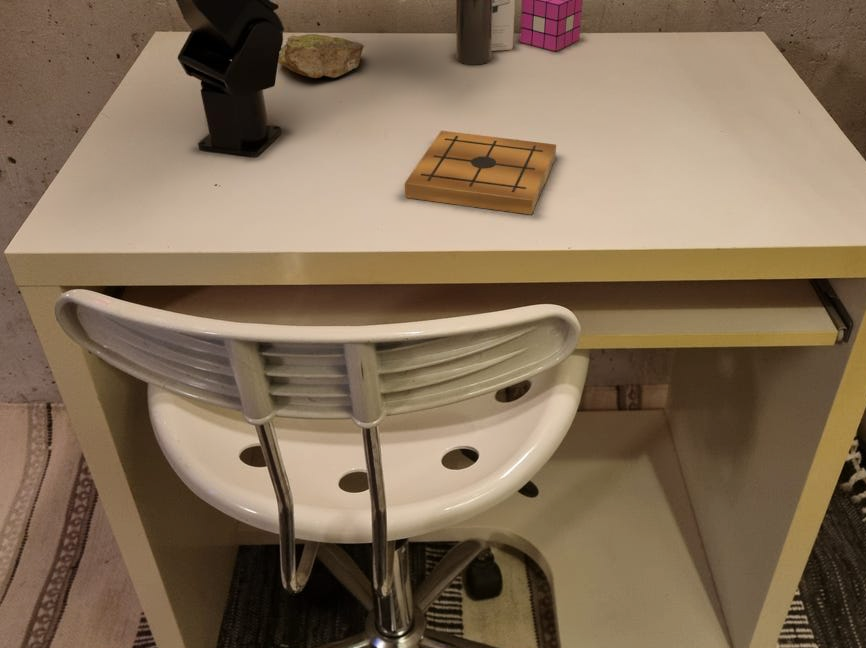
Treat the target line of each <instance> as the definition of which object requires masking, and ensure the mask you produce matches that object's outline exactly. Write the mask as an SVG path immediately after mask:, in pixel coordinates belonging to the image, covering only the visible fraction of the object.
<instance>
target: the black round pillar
mask: <svg viewBox="0 0 866 648" xmlns="http://www.w3.org/2000/svg"><path fill="white" fill-rule="evenodd" d="M492 9H493V0H455V37H456V38H455V39H456V40H455V42H456V43H455V47H456V48H455V49H456V50H455V51H456V56H455V58H456V60H457V61H458V62H459V63H461V64H464V65H470V66H476V65H477V66H478V65H484V64H487V63H489V62H491V61H492V52H493V51H492Z"/></svg>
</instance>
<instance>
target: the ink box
mask: <svg viewBox="0 0 866 648" xmlns="http://www.w3.org/2000/svg"><path fill="white" fill-rule="evenodd" d="M515 11H516V0H493V9H492V52H499V51H509V50H513V48H514V37H515V36H514V35H515V34H514V33H515V32H514V31H515V15H516V14H515Z"/></svg>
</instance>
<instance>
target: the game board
mask: <svg viewBox="0 0 866 648" xmlns="http://www.w3.org/2000/svg"><path fill="white" fill-rule="evenodd" d="M556 156H557V144H555V143H547V142H540V141H539V142H537V141H532V140H531V141H530V140H523V139H514V138H505V137H498V136H490V135H482V134H473V133H464V132H456V131H448V130H440V132H439V133H438V134H437V136H436V137H435V139H434V140H433V142H432V143H431V145H430V146H429V147H428V149H427V150H426V152H425V153H424V155H423V156H422V158H421V159H420V160H419V161H418V163H417V165H416V166H415V167H414V168H413V170H412V172H411V173H410V175H409V176H408V177H407V179H406V180H405V182H404V196H405V198H406V199H407V198H408V199H414V200H421V201H428V202H434V203H435V202H436V203H442V204H443V203H444V204H449V205H451V204H452V205H457V206H463V207H464V206H465V207H472V208H479V209H487V210H494V211H502V212H508V213H509V212H510V213H516V214H524V215H533V212H534V210H535V208H536V205H537V203H538V200H539V198H540V196H541V193H542V191H543V189H544V187H545V184H546V181H547V179H548V177H549V174H550V172H551V169H552V167H553V165H554V162H555V160H556V158H557V157H556Z"/></svg>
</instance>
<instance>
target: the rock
mask: <svg viewBox="0 0 866 648" xmlns="http://www.w3.org/2000/svg"><path fill="white" fill-rule="evenodd" d="M364 48H365V44H363V43H360V42H358V41H356V40H350V39H347V38H344V37H339V36H328V35H323V34H318V33H317V34H316V33H307V34H304V35H299V36H298V35H294V34H293V35H290V36H289V37H287V41H286V43H285V44H284V45H282V47H281V50H280V53H279V60H278V65H281V66H283V67H285V68H287V69H288V70H290V71H292V72H294V73H297V74H299V75H302V76H304V77H309V78H313V79H318V78H322V77H323V76H325V77H328V78H335V79H336V78H338V77H341V76H343V75H345V74H347V73H349V72H350V71H353V69H357V68H358V67H359V65H360V63H361V57H362V53H363V50H364Z"/></svg>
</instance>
